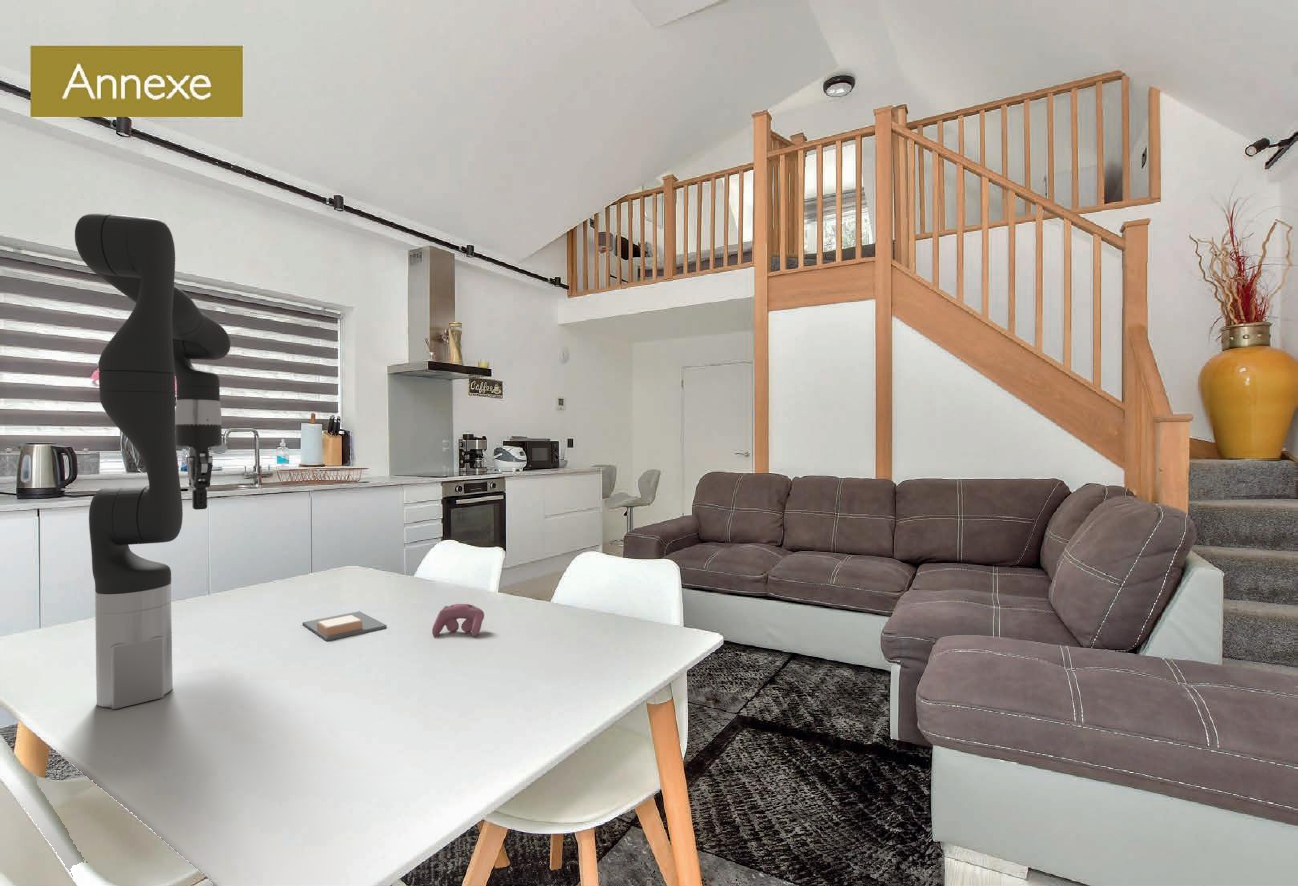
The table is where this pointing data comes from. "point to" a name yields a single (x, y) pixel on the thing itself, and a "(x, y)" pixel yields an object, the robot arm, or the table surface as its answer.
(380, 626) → the mat
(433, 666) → the table surface
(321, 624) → the tile
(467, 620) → the video game controller
